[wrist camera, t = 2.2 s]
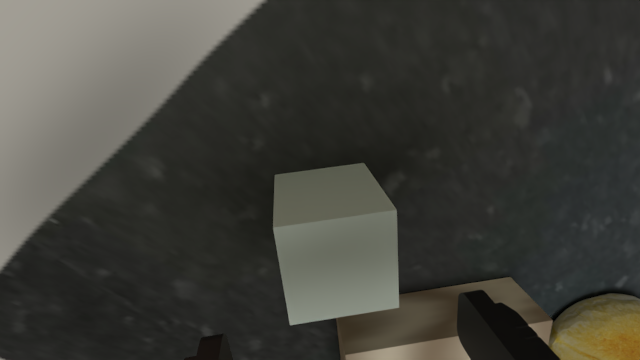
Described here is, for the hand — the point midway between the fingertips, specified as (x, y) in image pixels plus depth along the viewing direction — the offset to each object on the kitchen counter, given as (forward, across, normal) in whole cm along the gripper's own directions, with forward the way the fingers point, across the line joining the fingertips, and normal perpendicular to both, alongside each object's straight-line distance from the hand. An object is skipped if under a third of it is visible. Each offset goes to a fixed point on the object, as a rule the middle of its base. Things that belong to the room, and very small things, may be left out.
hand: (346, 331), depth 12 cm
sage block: (+9, 0, 0) cm, 9 cm away
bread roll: (+9, -19, +14) cm, 26 cm away
